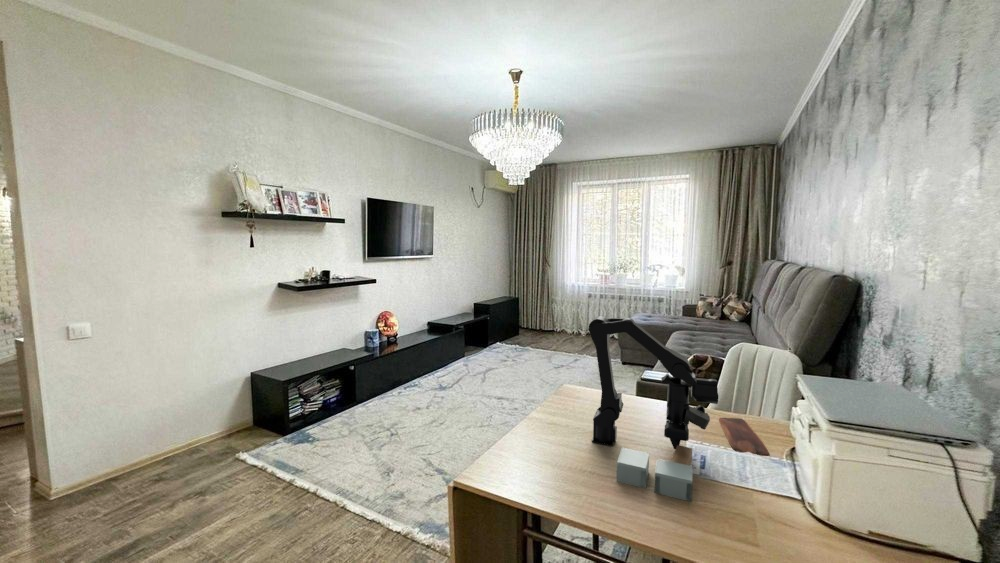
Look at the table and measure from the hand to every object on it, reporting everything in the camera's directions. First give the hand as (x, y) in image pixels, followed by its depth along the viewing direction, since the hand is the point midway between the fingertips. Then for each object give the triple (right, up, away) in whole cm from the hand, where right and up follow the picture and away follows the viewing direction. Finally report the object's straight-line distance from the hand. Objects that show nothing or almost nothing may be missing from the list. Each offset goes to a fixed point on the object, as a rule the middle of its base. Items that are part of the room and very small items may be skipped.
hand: (675, 449), depth 119 cm
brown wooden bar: (-3, -2, -9) cm, 10 cm away
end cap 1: (-17, -2, -12) cm, 21 cm away
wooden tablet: (+27, -1, +12) cm, 30 cm away
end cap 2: (-9, -3, -18) cm, 20 cm away
